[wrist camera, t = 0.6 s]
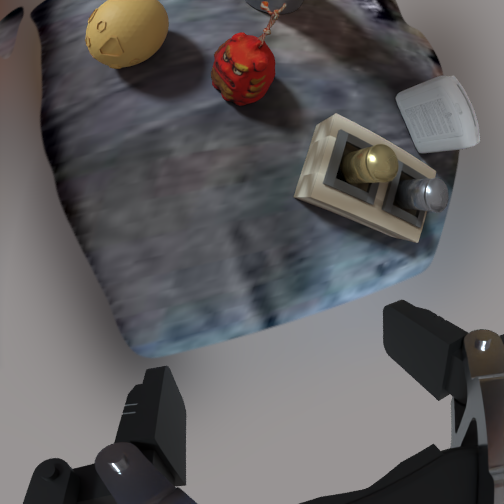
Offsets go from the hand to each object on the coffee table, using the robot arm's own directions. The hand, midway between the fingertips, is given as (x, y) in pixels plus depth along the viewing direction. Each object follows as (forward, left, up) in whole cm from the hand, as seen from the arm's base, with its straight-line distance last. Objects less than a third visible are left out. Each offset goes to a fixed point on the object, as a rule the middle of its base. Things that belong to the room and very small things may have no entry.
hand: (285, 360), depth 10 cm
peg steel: (-13, +18, -22) cm, 31 cm away
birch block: (-13, +14, -27) cm, 33 cm away
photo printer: (-26, +21, -27) cm, 43 cm away
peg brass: (-13, +10, -22) cm, 27 cm away
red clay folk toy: (-20, -5, -27) cm, 34 cm away
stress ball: (-21, -20, -27) cm, 39 cm away
